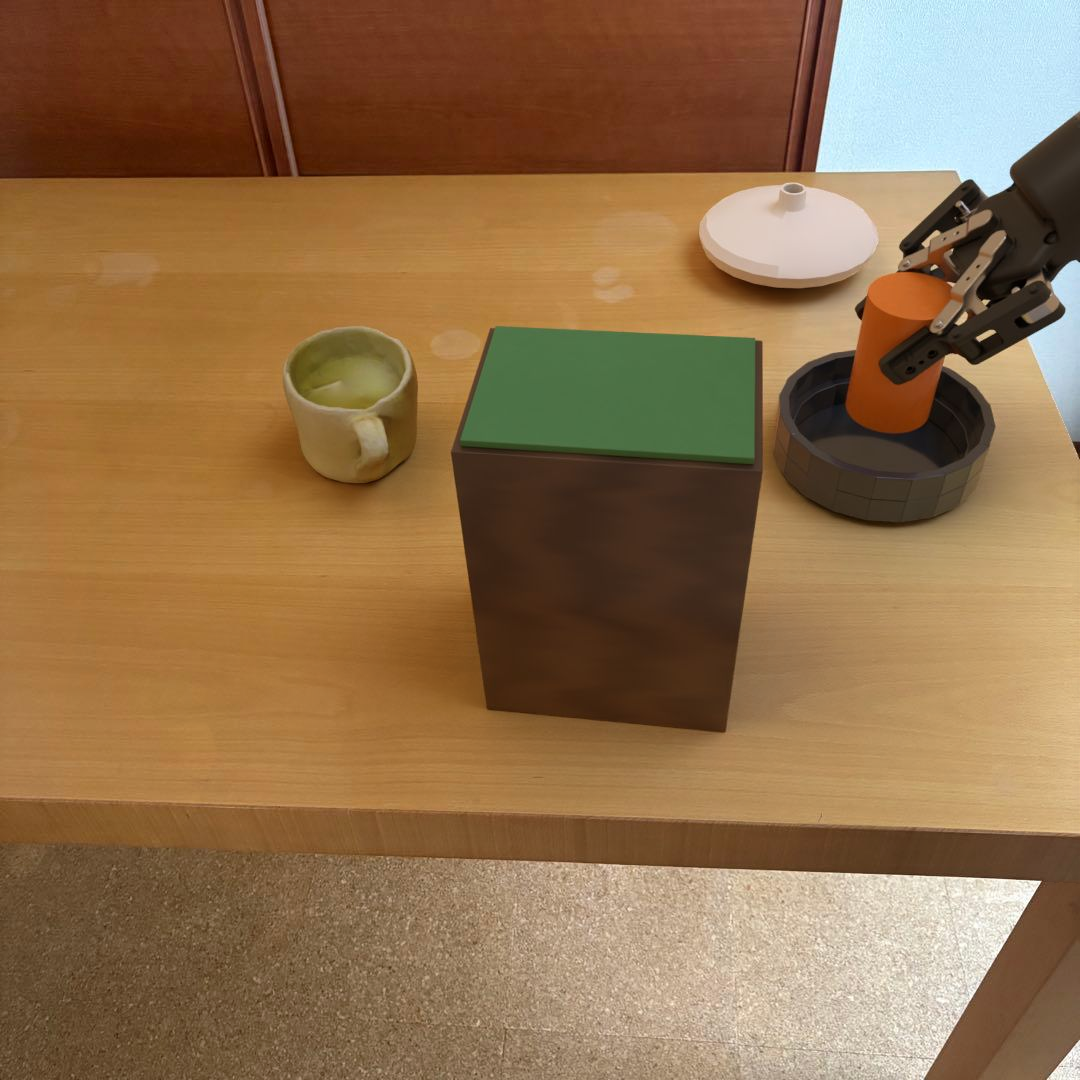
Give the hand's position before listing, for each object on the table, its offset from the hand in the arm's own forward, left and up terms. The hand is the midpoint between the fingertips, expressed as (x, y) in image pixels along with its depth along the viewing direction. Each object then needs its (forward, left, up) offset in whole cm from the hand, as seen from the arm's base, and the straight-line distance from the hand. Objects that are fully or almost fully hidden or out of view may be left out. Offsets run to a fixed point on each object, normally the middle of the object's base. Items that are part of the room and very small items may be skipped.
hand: (875, 346), depth 68 cm
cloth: (+15, +20, +10) cm, 27 cm away
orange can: (-2, 0, -5) cm, 6 cm away
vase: (+4, -27, -10) cm, 30 cm away
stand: (+15, +20, -10) cm, 27 cm away
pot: (-2, 0, -10) cm, 10 cm away
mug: (+35, +4, -10) cm, 37 cm away
